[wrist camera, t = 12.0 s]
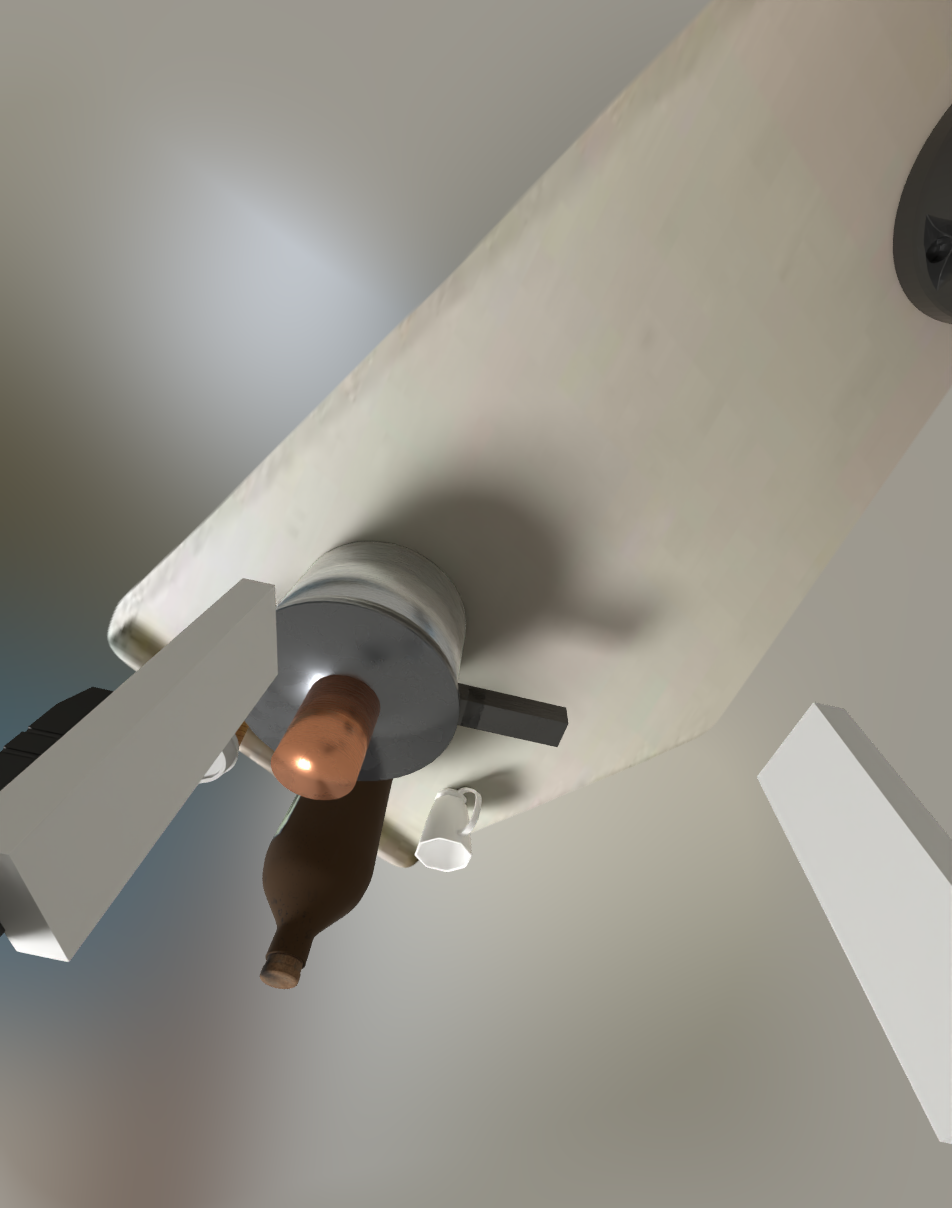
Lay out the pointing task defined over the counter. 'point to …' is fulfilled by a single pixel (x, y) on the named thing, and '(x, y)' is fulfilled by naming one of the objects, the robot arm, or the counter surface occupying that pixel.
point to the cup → (448, 831)
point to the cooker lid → (353, 698)
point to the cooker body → (426, 627)
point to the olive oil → (319, 871)
